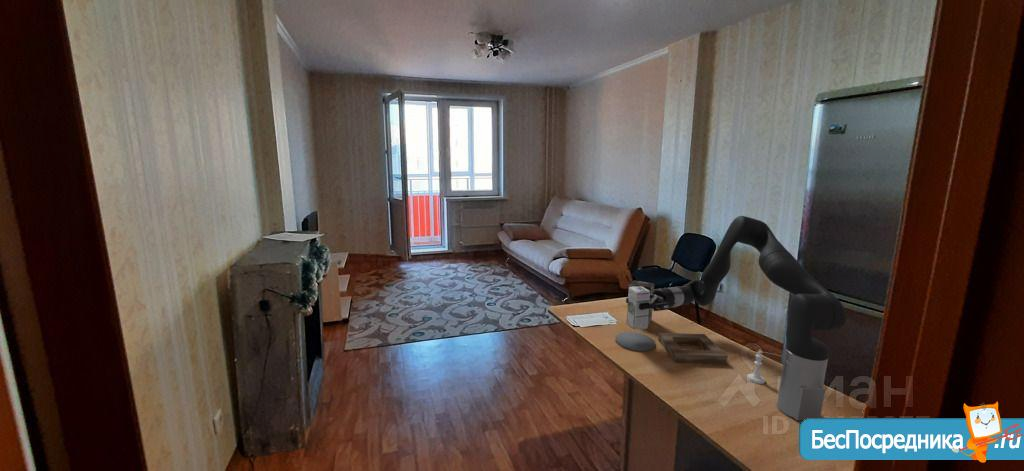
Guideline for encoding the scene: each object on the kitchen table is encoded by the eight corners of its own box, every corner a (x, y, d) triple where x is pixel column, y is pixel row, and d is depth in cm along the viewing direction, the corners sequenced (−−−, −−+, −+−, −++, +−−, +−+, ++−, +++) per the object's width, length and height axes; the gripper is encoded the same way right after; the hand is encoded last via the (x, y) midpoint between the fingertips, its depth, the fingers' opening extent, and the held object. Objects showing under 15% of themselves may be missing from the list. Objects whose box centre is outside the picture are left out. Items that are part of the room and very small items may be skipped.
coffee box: (652, 319, 174) (655, 283, 171) (648, 324, 168) (651, 287, 165) (630, 315, 178) (633, 279, 175) (626, 319, 173) (629, 283, 170)
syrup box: (648, 328, 149) (651, 290, 146) (633, 330, 147) (636, 291, 144) (639, 322, 154) (642, 285, 151) (625, 323, 153) (628, 286, 150)
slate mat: (660, 351, 145) (660, 349, 145) (620, 350, 145) (620, 348, 145) (647, 334, 159) (648, 332, 158) (611, 333, 159) (611, 331, 159)
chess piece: (743, 377, 129) (747, 347, 127) (753, 374, 131) (758, 345, 129) (757, 385, 125) (762, 354, 123) (768, 382, 127) (773, 352, 125)
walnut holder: (726, 363, 137) (727, 355, 137) (675, 362, 137) (676, 354, 137) (703, 341, 154) (704, 334, 153) (658, 340, 154) (658, 332, 154)
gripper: (655, 282, 160) (620, 287, 154) (684, 294, 148) (647, 300, 141) (653, 301, 162) (619, 306, 155) (682, 314, 149) (646, 320, 142)
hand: (633, 303), depth 148 cm, fingers closed on syrup box, 6 cm apart
